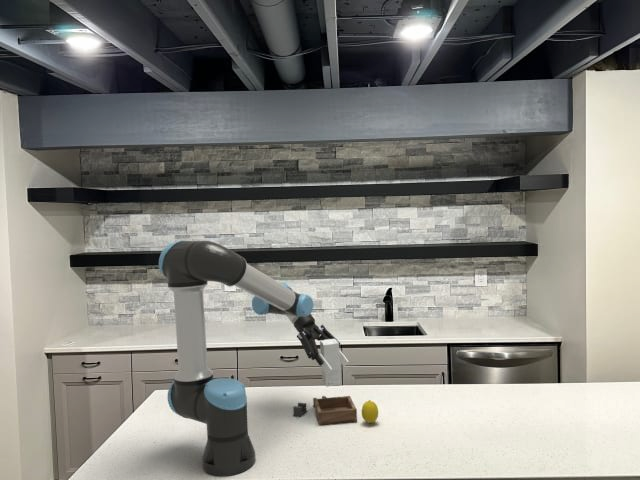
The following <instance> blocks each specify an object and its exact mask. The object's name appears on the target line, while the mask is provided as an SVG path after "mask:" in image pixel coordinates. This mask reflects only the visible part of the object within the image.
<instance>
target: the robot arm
mask: <svg viewBox="0 0 640 480" xmlns="http://www.w3.org/2000/svg"><path fill="white" fill-rule="evenodd" d="M158 268H159V271H160V274H162V275H163V276H164V278H165V279H167V288H168V289H170V291H172V293H173V301H174V302H173V303H174V304H173V305H174V315H175V316H174V318H175V319H174V320H175V335H176V349H177V363H178V364H177V366H178V370H177V372H176V373H175V374H174V375H173V380H172V383H171V384H170V387H169V388H168V390H167V403H168V406H169V408H170V409H171V411H172V412H173V413H174V414H177V415H178V416H180V417H182V418H183V419H190V420H193V421H196V422H199V423H202V424H206V436H207V437H206V438H207V439H206V443H205V447H204V451H203V454H202V455H203V456H202V460H201V461H202V469H203V471H204V472H206V474H209V475H211V476H212V475H213V476H217V477H219V476H220V477H224V476H233V475H237V474H240V473H243V472H245V471H247V470H250V469H251V467H253V466H254V465H255V462H256V460H257V459H256V451H255V447H254V445H253V443H252V441H251V438H250V435H249V428H248V426H249V425H248V422H249V421H248V400H247V399H248V397H247V393H246V388H245V385H244V384H243V383H242V382H241V381H239V380H237V379H235V378H229V377H228V378H224V377H222V378H221V377H220V378H214V371H213V370H212V369H211V368H210V367H208V352H207V351H208V350H207V336H206V321H205V319H206V318H205V305H204V304H205V303H204V289H206V287H207V285H208V282H215V283H216V282H217V283H219V284H223V285H225V286H227V287H237V288H238V289H240V290H242V291H245V292H246V293H248V294H250V295H252V296H253V297H252V299H251V307H252V310H253V312H254V313H255V314H256V315H260V316H261V315H268V314H272V315H285V316H286V317H287V319H289V321H290V323H291V324H293V327H294V328H295V329H296V331H297V332H298V333H297V335H296V338H297V339H298V340H299V342H300V344H301V346H302V347H303V351H304V352H305V353H306V356H307V358H308V359H311V360H312V361H314V360H315V361H316V363H317V364H318V366H320V367H321V369H322V368H323V370H324V371H325V372H326V374H328V373H329V372H330V371H331V370H332V368H331V366H330V365H329V364H328V362H327V361H326V360H325V358H324V357H323V356H322V354H321V353H319V350H318V346H317V342H316V341H319V342H320V340H327V339H336V341H337V342H338V343H339V347H340V346H341V342H340V341H339V340H338V339H337V338H336V337H335V336H334V335H333V334H332V333H331V332H329V331H328V329H327V328H326V327H325V325H324V324H321V325H320V326H318V325H317V324H316V319H315V318H314V316H313V315H312V312H313V309H314V301H313V298H312V296H311V295H309V294H304V293H297V292H296V291H294V289H293V288H291V286H290V285H289V284H288V282H283V281H282V282H279V281H277V280H275V278H272V277H271V276H268V275H266V273H264V272H262V271H260V270H259V269H257V268H255V267H253V266H252V265H250V264H249V263H247V260H246V259H245V257H243V256H242V255H240V254H238V253H237V252H235V251H233V250H231V249H230V248H227V247H225V246H224V245H221V244H220V243H217V242H214V241H210V240H179V241H174V242H171V243H169V244H167V245H166V246H165V248H163V250H162V251H161V253H160V255H159V258H158ZM339 352H340V365H341V366H343V367H345V366H346V365H347V364H348V363H349V362H350V361H349V360H348V359H347V357H346V356H345V354H344V353H343V351H342V350H341V348H339Z"/></svg>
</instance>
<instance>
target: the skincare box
mask: <svg viewBox="0 0 640 480" xmlns="http://www.w3.org/2000/svg"><path fill="white" fill-rule="evenodd" d="M336 339H337V338H336ZM336 339H327V340H320V341H319V349H320V354H322V356H323V357H324V358H325V360H326V361H327V362H328V364H329V365H330V366H331V368H332V370H331V371H330V372H329V373H328V374H326V372H325V371H324V370H323V368H322V367H321V378H322V382H323V384H324V385H325V387H326V388H327V387H339V386H340V387H341V386H342V385H343V383H342V372H341V371H342V369H341V366H342V365H341V363H340V352H339V349H340V346H339V343H338V342H337V341H336Z"/></svg>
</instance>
